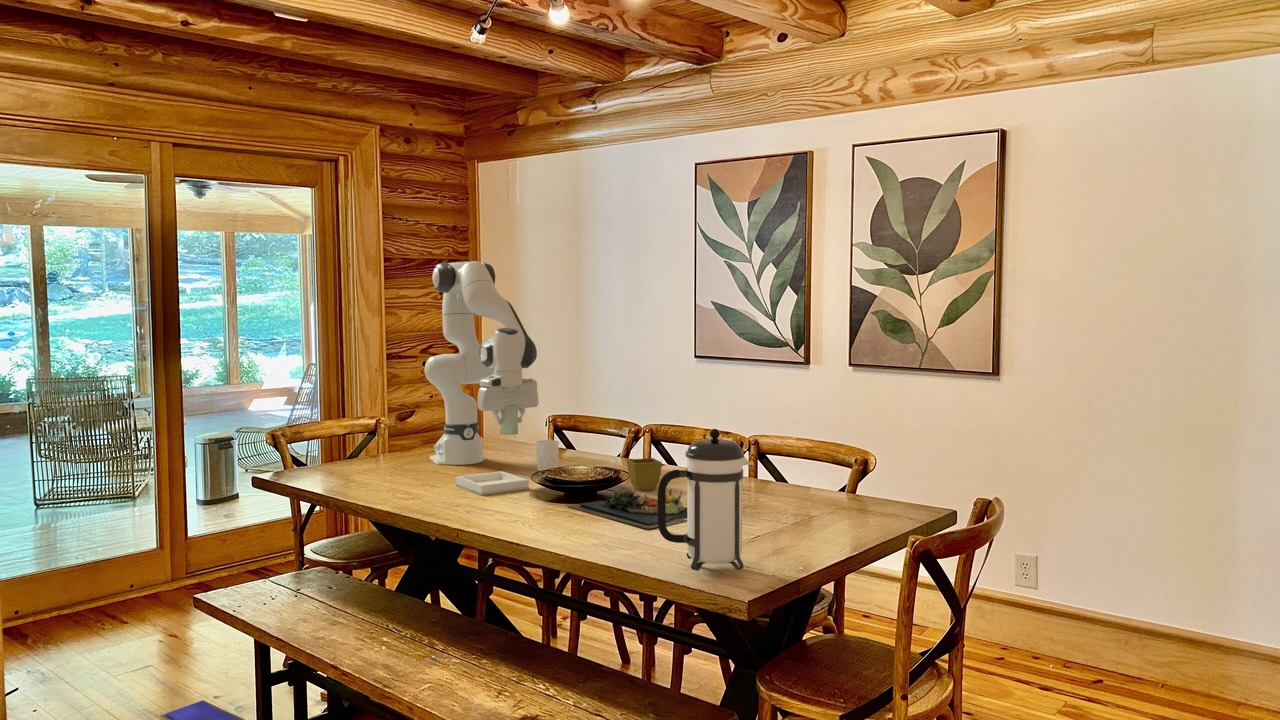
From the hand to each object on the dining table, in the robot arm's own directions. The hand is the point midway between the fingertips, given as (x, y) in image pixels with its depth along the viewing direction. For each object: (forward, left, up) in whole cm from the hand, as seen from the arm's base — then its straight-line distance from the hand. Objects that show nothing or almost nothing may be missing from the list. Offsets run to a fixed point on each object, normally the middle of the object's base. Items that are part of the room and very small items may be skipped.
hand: (508, 423), depth 298 cm
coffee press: (+108, -7, -20) cm, 110 cm away
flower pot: (+32, +30, -20) cm, 48 cm away
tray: (+2, -7, -20) cm, 21 cm away
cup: (0, 0, -3) cm, 3 cm away
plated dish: (+54, +14, -21) cm, 59 cm away
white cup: (-14, +22, -20) cm, 33 cm away
